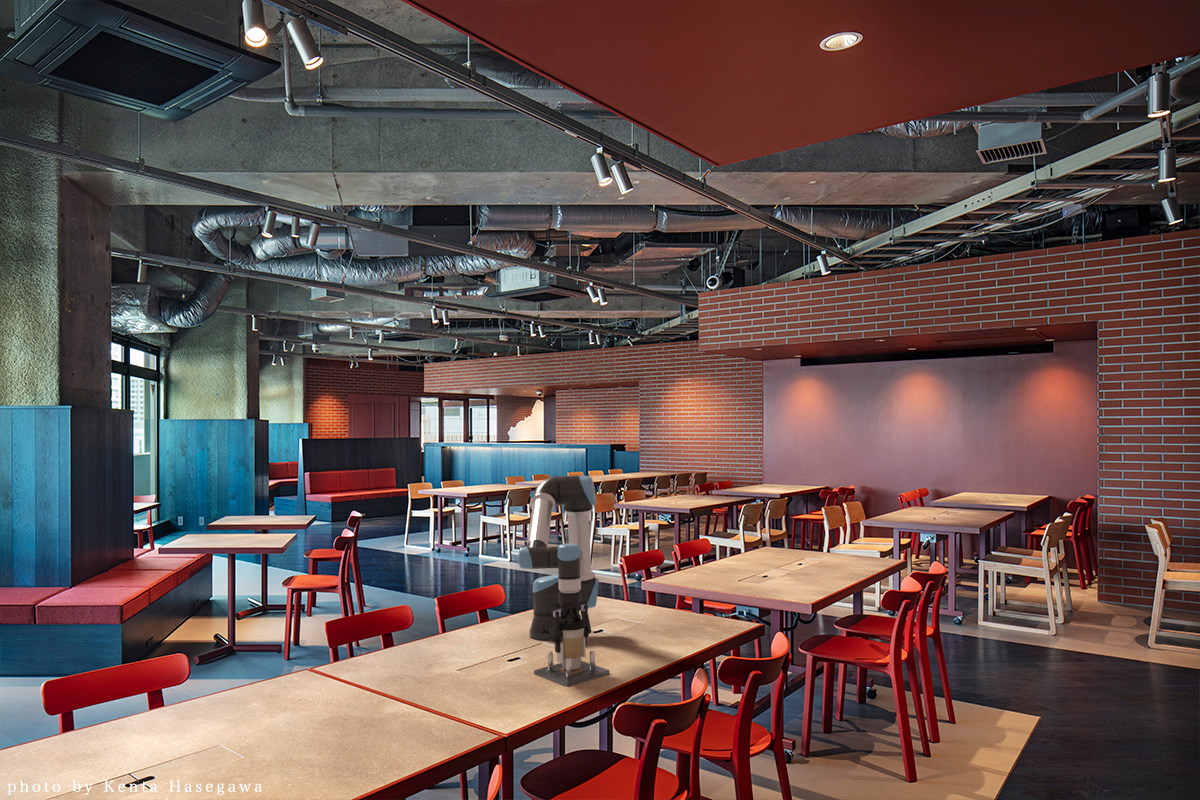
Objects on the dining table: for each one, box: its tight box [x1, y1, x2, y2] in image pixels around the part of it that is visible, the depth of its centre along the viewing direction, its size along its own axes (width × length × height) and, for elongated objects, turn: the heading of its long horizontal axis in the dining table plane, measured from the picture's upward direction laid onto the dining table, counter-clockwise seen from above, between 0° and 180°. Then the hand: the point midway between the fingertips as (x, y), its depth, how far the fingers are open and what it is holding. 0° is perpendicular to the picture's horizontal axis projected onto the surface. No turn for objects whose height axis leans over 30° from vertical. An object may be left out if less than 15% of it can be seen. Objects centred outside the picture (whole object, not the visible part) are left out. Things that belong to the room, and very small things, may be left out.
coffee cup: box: [558, 618, 585, 669], centre depth 243 cm, size 10×10×15 cm
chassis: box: [533, 650, 611, 687], centre depth 243 cm, size 18×18×7 cm
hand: (571, 659), depth 243 cm, fingers closed on coffee cup, 9 cm apart
